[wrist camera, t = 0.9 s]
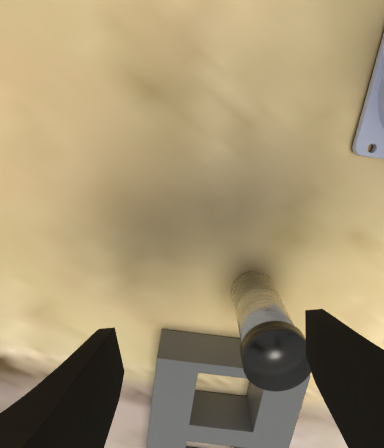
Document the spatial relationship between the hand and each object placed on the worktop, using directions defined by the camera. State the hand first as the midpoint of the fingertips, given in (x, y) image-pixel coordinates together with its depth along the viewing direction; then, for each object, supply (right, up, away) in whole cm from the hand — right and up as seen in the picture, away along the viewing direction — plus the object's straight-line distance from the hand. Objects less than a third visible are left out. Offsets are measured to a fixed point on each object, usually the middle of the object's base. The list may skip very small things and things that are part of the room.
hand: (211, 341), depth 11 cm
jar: (+4, 0, +10) cm, 11 cm away
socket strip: (+1, -10, +13) cm, 16 cm away
